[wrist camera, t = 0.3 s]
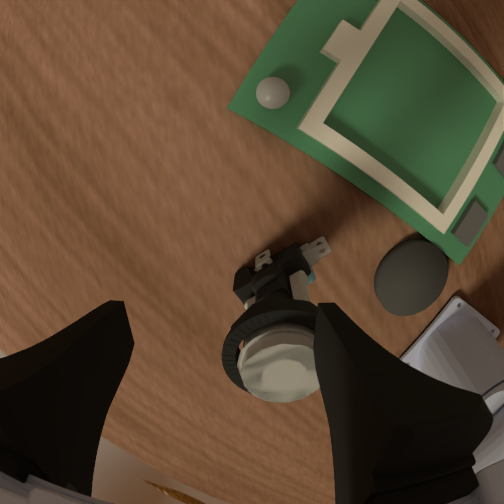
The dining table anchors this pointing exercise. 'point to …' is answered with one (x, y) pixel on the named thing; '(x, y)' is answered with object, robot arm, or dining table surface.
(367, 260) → the dining table surface
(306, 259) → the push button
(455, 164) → the circuit board
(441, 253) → the dark gray round disc
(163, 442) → the dining table surface
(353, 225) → the dining table surface
